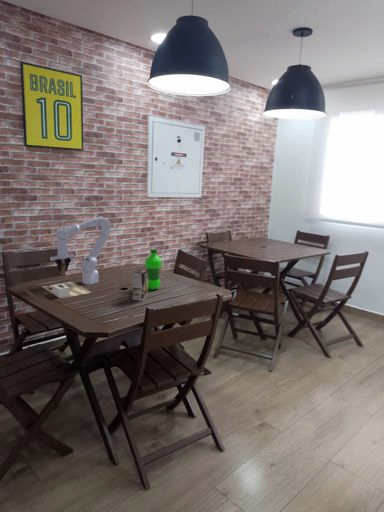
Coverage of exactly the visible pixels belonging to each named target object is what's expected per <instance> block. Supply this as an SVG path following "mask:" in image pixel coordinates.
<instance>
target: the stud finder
mask: <svg viewBox="0 0 384 512" xmlns="http://www.w3.org/2000/svg"><path fill="white" fill-rule="evenodd" d="M56 284H57V285H55V284H51V285H52V286H53V288H52V290H53V294H52V295H54V296H55V295H56V296H55V297H57V298H58V297H59V299H63V298H62V297H66V298H68V297H67V296H70V287H68V286H66V285H65V284H61V283H56Z"/></svg>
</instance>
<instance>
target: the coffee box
mask: <svg viewBox="0 0 384 512" xmlns="http://www.w3.org/2000/svg"><path fill="white" fill-rule="evenodd" d="M148 294H149V288H148V270H147V269H138V268H137V269H136V270H135V271H134V272H133V273H132V300H133V301H139V302H143V301H145V300H146V298H148Z"/></svg>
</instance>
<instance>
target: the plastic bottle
mask: <svg viewBox="0 0 384 512" xmlns="http://www.w3.org/2000/svg"><path fill="white" fill-rule="evenodd" d="M150 253H151V254H150V255H149V256H148V257H147V258H145V260H144V261H145V263H144V265H145V267H146V270H148V290H151V291H152V290H154V291H155V290H157V289H158V288H159V287H160V286H161V278H160V268H161V267H162V259H161V258H160V257H159V256H158V255H157V253H158V249H155V248H151V249H150Z"/></svg>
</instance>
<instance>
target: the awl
mask: <svg viewBox="0 0 384 512" xmlns="http://www.w3.org/2000/svg"><path fill="white" fill-rule="evenodd" d="M66 273H67V271H66V264H65V263H64V262H62V264H61V272H60V274H61V276H65V275H66Z"/></svg>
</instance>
